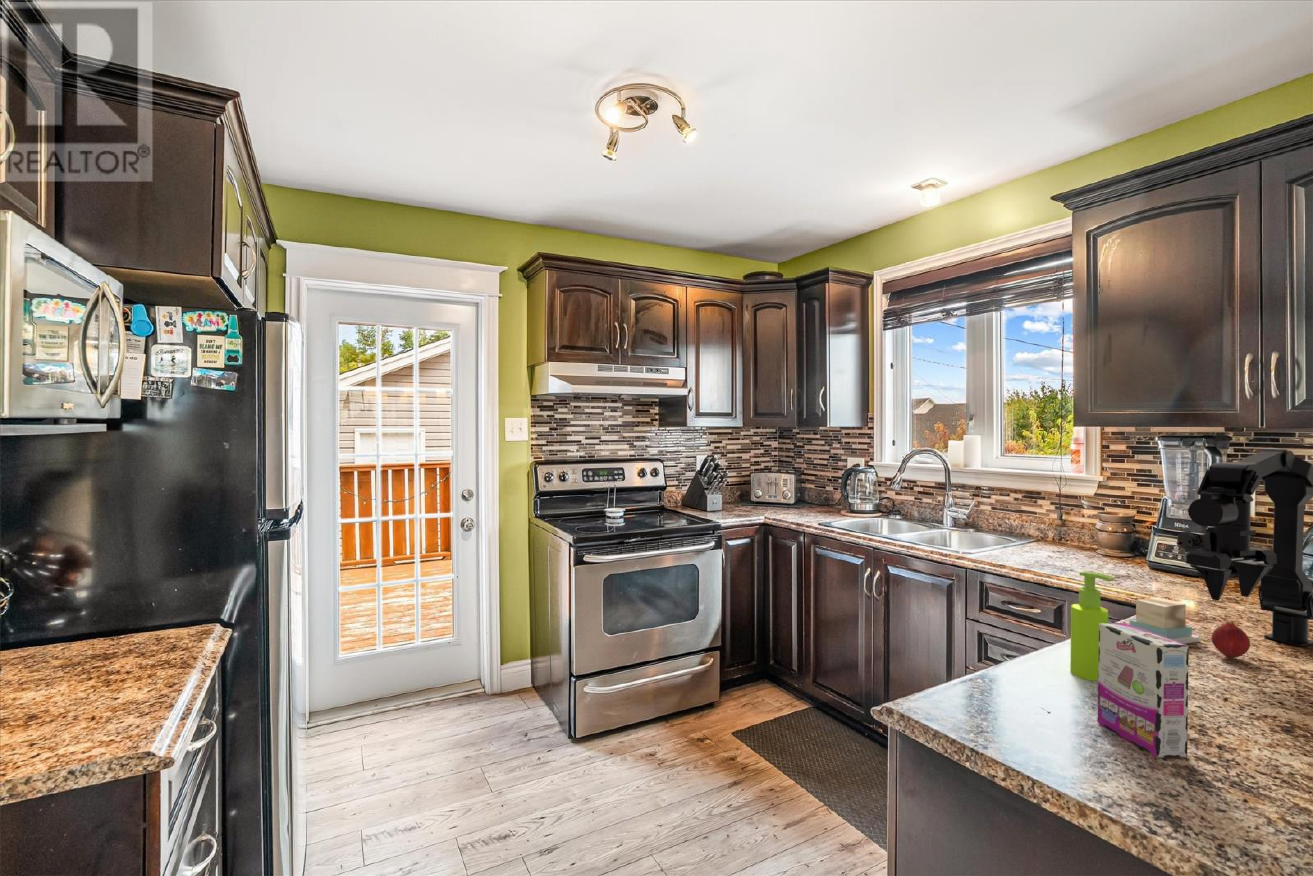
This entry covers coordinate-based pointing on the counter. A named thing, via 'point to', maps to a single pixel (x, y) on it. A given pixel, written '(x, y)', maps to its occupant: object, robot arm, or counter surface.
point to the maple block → (1160, 613)
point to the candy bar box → (1144, 689)
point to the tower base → (1169, 632)
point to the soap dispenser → (1087, 628)
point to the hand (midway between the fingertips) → (1230, 598)
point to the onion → (1230, 640)
